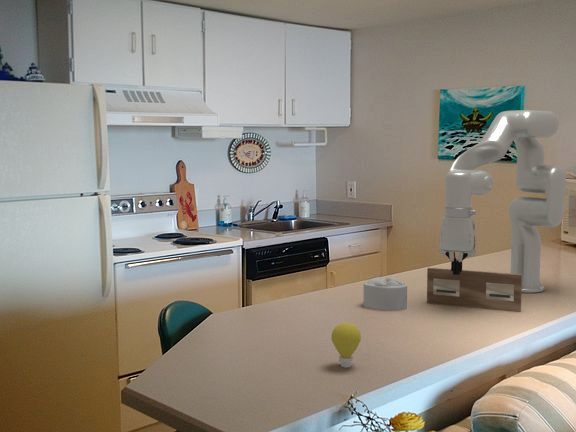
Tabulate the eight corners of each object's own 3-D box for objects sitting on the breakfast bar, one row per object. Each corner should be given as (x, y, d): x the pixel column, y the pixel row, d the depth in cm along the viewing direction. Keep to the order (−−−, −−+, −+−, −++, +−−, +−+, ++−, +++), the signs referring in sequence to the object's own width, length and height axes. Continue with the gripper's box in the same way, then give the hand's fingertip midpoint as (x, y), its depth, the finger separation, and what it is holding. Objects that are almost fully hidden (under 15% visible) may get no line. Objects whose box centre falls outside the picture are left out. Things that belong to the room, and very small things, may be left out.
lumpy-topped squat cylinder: (374, 300, 222) (374, 274, 221) (412, 305, 215) (413, 278, 214) (359, 307, 213) (360, 279, 212) (399, 312, 206) (399, 284, 205)
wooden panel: (427, 302, 219) (428, 267, 218) (520, 310, 207) (521, 274, 206) (426, 303, 217) (427, 268, 216) (520, 311, 206) (521, 275, 205)
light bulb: (329, 361, 161) (329, 319, 160) (357, 360, 161) (358, 318, 160) (333, 371, 154) (333, 327, 153) (363, 370, 155) (363, 326, 154)
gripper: (485, 213, 206) (484, 273, 208) (435, 211, 212) (434, 270, 214) (481, 215, 199) (479, 278, 201) (429, 213, 205) (428, 274, 207)
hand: (456, 274), depth 208 cm, fingers closed
